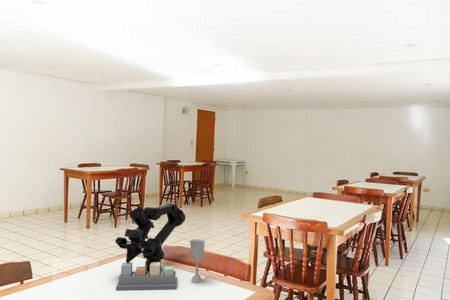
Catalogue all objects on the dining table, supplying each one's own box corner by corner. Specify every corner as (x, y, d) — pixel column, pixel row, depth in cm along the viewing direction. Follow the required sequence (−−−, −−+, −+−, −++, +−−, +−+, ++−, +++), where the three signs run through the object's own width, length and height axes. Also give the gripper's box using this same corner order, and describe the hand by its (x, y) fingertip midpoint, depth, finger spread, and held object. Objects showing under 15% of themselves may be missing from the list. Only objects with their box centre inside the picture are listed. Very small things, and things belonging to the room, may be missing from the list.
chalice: (207, 279, 167) (208, 240, 166) (200, 285, 161) (201, 244, 160) (193, 277, 170) (194, 238, 169) (185, 282, 164) (186, 241, 163)
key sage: (173, 278, 163) (173, 266, 162) (173, 282, 159) (173, 269, 158) (164, 278, 162) (164, 266, 162) (163, 282, 158) (164, 269, 158)
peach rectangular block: (146, 279, 161) (146, 266, 161) (144, 282, 157) (145, 269, 157) (136, 279, 161) (137, 266, 161) (135, 282, 157) (135, 269, 157)
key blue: (132, 275, 161) (132, 262, 161) (130, 278, 157) (130, 265, 157) (122, 275, 161) (123, 262, 160) (121, 278, 157) (121, 265, 156)
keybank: (177, 280, 166) (177, 269, 166) (176, 289, 156) (176, 277, 156) (120, 281, 163) (120, 270, 163) (115, 290, 154) (116, 278, 153)
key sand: (160, 274, 162) (160, 262, 162) (159, 278, 158) (159, 265, 158) (150, 274, 162) (150, 262, 161) (149, 278, 158) (149, 265, 157)
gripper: (117, 219, 167) (100, 250, 157) (152, 223, 159) (136, 256, 150) (128, 232, 174) (112, 262, 164) (162, 237, 167) (148, 269, 157)
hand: (127, 262), depth 159 cm, fingers closed
